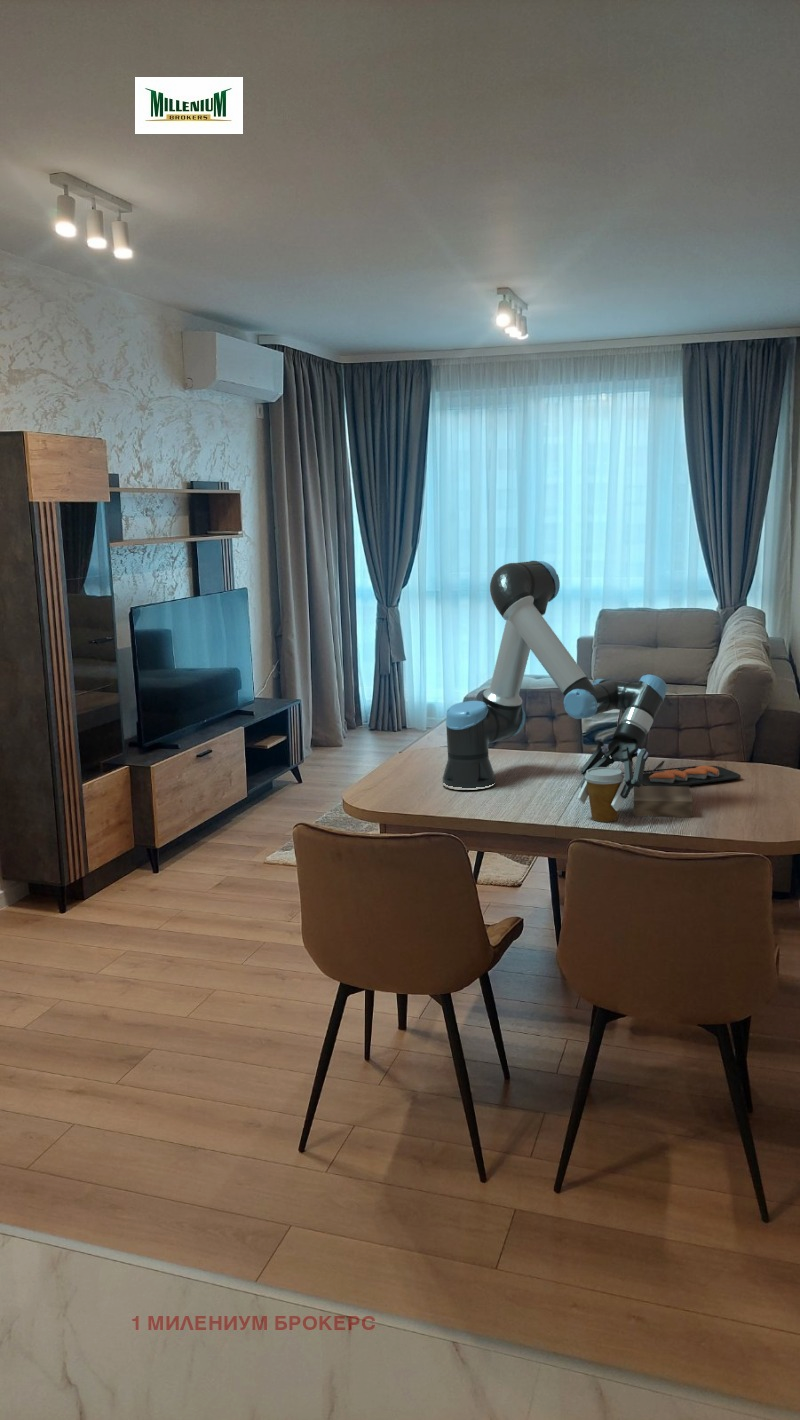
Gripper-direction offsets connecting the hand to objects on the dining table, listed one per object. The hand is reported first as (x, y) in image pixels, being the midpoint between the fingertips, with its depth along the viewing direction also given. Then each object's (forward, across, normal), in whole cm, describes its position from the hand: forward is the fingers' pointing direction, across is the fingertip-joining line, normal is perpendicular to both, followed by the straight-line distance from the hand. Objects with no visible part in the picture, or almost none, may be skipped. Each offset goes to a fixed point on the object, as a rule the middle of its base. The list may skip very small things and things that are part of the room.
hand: (597, 804), depth 243 cm
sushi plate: (-32, +9, -39) cm, 52 cm away
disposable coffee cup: (+1, 0, -6) cm, 6 cm away
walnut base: (-10, -7, -17) cm, 21 cm away
